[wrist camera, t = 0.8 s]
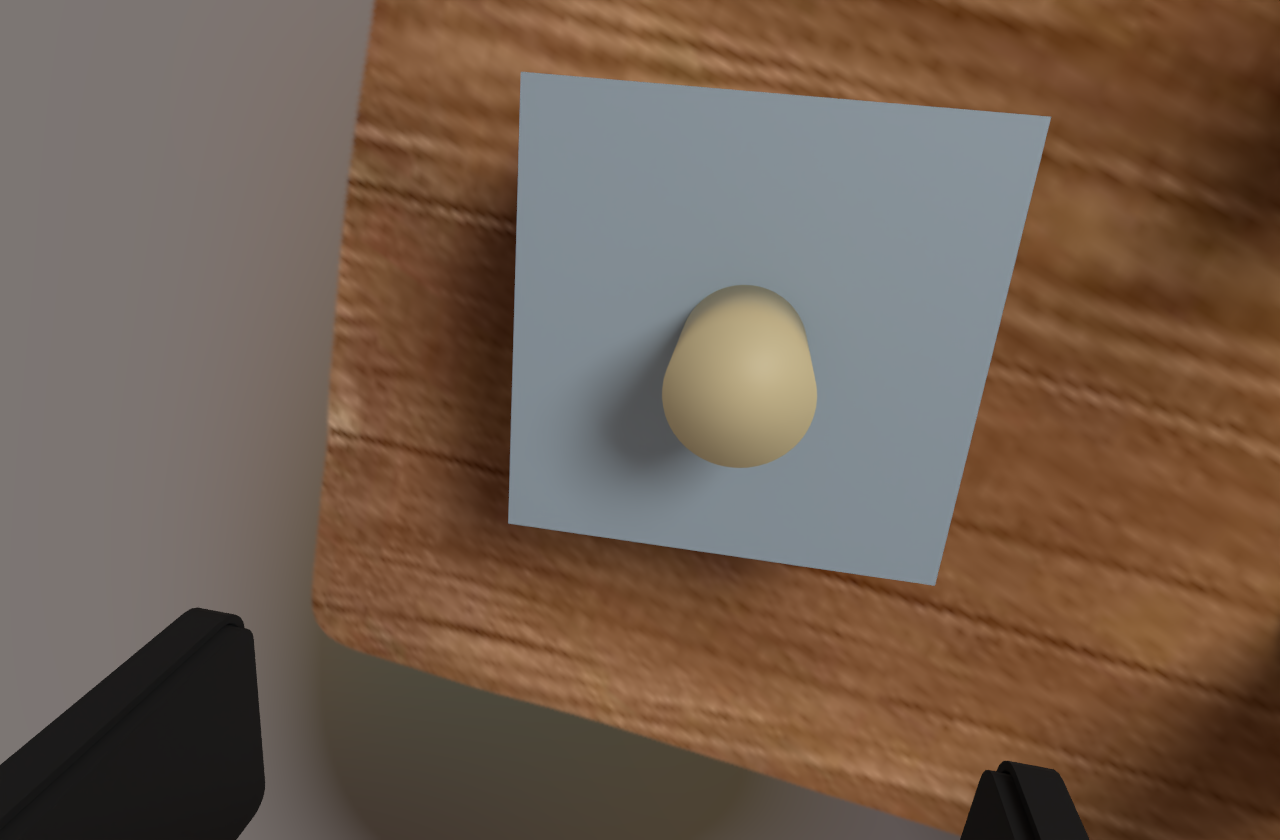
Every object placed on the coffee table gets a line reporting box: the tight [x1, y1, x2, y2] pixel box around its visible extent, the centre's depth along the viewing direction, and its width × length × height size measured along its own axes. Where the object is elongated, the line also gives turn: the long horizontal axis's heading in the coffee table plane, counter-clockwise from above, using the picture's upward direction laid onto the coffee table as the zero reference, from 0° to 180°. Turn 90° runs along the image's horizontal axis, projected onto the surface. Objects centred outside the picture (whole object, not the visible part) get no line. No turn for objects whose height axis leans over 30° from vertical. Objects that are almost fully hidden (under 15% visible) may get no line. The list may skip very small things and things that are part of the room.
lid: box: [508, 72, 1051, 586], centre depth 24 cm, size 15×15×6 cm
